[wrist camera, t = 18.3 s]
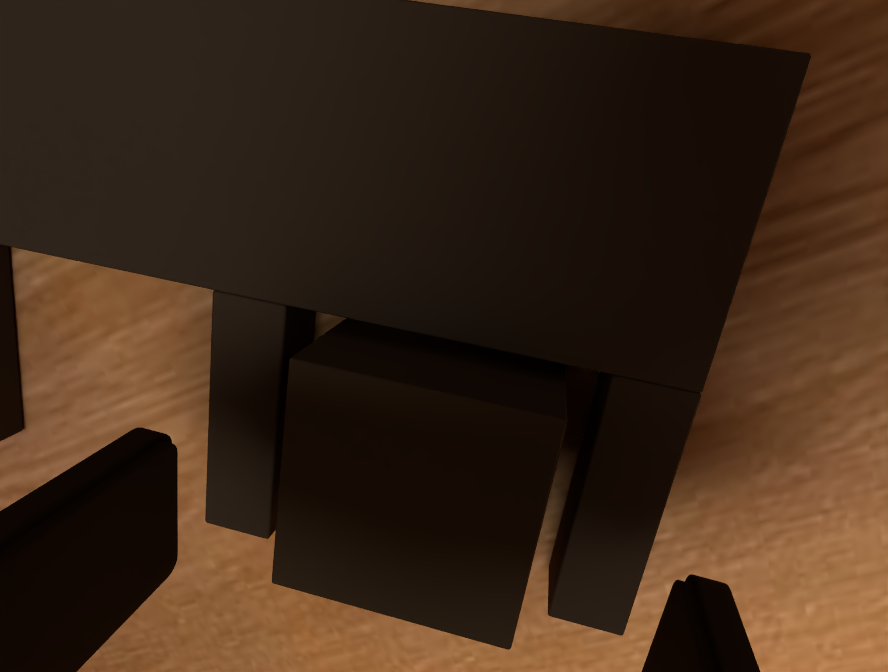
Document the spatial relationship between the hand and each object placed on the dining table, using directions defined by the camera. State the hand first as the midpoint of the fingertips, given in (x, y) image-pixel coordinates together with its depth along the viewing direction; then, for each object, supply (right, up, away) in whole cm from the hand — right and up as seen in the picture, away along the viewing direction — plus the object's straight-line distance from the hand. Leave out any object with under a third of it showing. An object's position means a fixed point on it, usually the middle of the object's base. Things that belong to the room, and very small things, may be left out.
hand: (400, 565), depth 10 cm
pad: (+1, +1, +6) cm, 6 cm away
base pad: (-4, +6, +6) cm, 9 cm away
